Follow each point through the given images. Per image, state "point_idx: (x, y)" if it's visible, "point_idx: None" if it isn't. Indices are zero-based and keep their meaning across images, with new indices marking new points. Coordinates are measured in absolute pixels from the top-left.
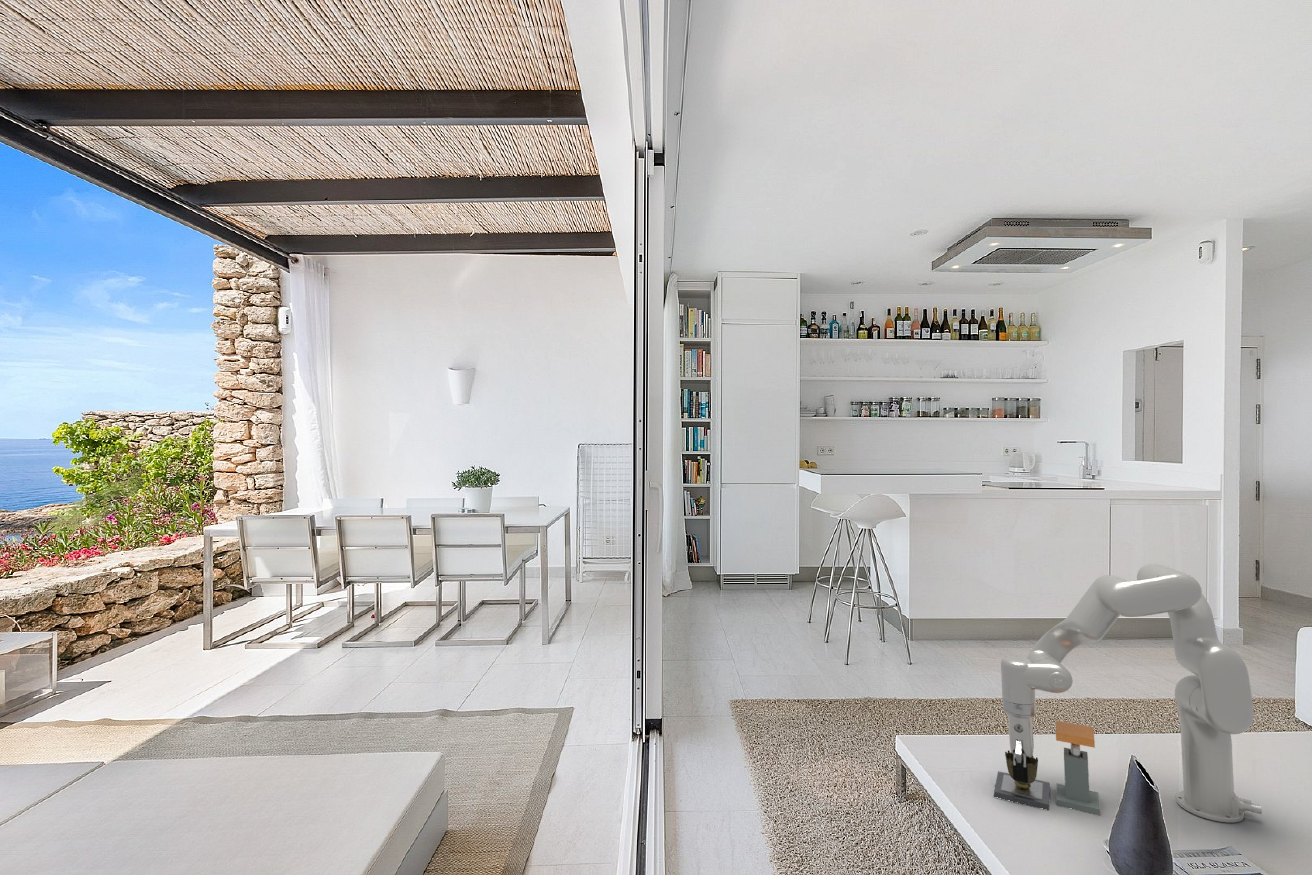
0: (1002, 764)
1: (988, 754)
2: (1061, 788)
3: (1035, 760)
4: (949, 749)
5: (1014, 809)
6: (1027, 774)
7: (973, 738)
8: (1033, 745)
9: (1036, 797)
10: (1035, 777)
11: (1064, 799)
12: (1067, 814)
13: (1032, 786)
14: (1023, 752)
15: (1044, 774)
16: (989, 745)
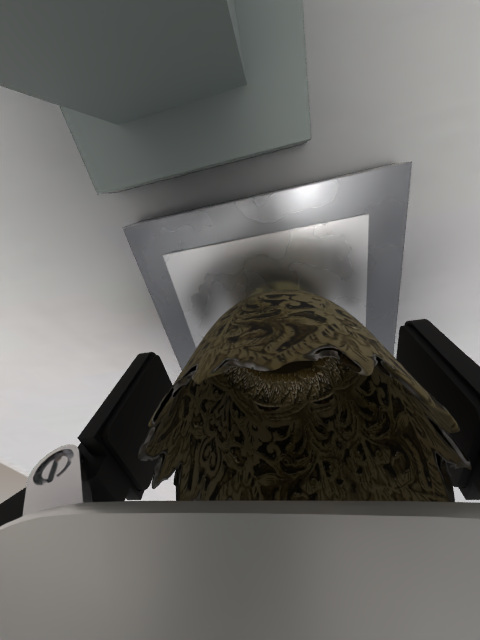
0: (103, 397)
1: (78, 432)
2: (138, 150)
3: (205, 364)
4: (143, 493)
5: (456, 303)
6: (465, 356)
7: (28, 467)
8: (115, 587)
9: (363, 243)
10: (301, 293)
11: (279, 84)
12: (392, 40)
13: (241, 287)
14: (129, 448)
15: (33, 273)
16: (22, 438)
